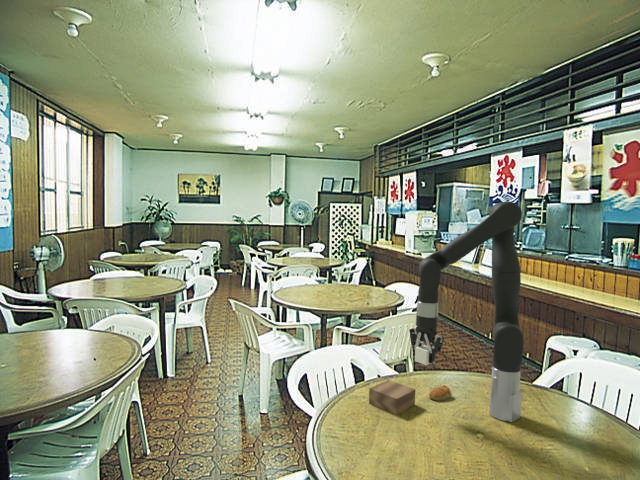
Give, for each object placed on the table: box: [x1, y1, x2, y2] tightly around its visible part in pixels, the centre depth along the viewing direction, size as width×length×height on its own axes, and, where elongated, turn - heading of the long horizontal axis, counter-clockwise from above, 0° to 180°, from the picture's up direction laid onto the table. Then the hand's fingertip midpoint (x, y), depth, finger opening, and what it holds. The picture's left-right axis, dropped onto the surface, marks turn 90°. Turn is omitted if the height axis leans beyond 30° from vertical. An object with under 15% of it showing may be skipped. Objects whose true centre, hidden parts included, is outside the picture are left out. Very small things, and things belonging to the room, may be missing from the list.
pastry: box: [428, 384, 453, 401], centre depth 167 cm, size 9×7×4 cm
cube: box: [414, 344, 436, 366], centre depth 156 cm, size 5×5×5 cm
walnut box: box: [368, 379, 416, 416], centre depth 159 cm, size 12×12×6 cm
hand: (424, 360), depth 156 cm, fingers closed on cube, 5 cm apart
